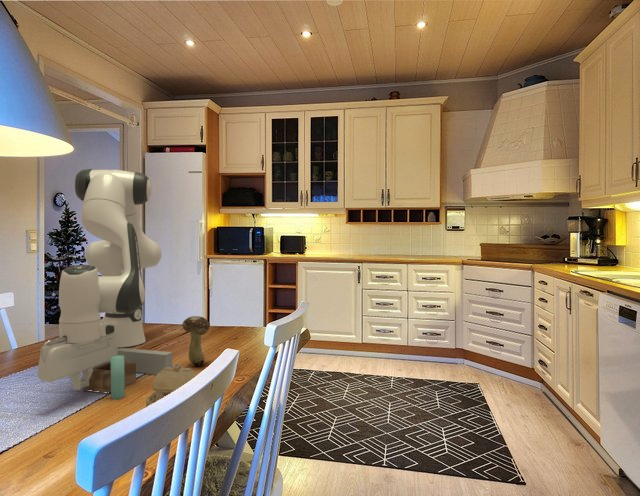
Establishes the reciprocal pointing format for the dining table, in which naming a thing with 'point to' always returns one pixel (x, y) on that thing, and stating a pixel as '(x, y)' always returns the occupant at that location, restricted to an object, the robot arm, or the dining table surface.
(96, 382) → the open box
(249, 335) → the dining table surface
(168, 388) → the ceramic model
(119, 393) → the green rectangular block
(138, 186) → the robot arm
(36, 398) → the dining table surface
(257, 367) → the dining table surface
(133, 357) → the wall
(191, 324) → the mushroom
